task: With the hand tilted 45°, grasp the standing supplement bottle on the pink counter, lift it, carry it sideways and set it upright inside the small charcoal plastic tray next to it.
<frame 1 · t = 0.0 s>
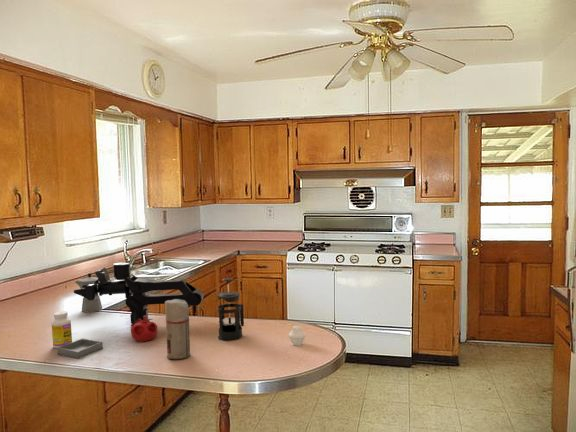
hand: (78, 288, 202), 17 cm above the worktop, tool horizontal, fingers open, 9 cm apart
red ball with holes: (144, 339, 185), on the worktop
supplement bottle: (63, 346, 180), on the worktop
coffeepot: (94, 309, 230), on the worktop
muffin: (297, 344, 173), on the worktop
tray: (80, 351, 173), on the worktop
spray can: (178, 356, 166), on the worktop
french press: (231, 337, 184), on the worktop
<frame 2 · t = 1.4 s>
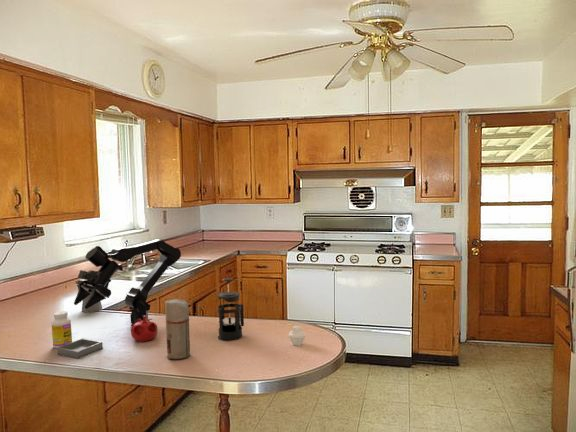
hand: (79, 306, 185), 14 cm above the worktop, tool tilted 45°, fingers open, 9 cm apart
nothing on the worktop moved.
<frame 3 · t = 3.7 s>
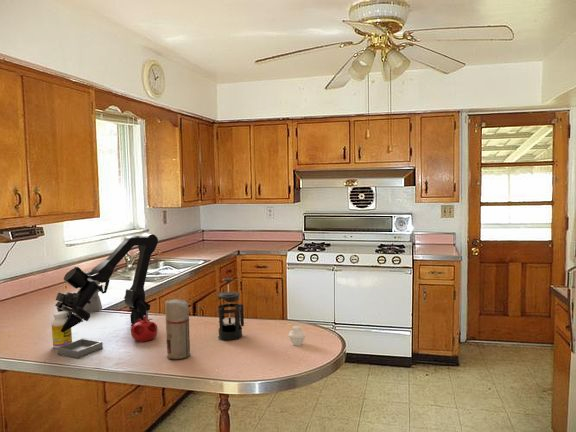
hand: (57, 329, 179), 7 cm above the worktop, tool tilted 45°, fingers closed on supplement bottle, 7 cm apart
supplement bottle: (63, 346, 180), on the worktop, touching gripper
everything else where it was.
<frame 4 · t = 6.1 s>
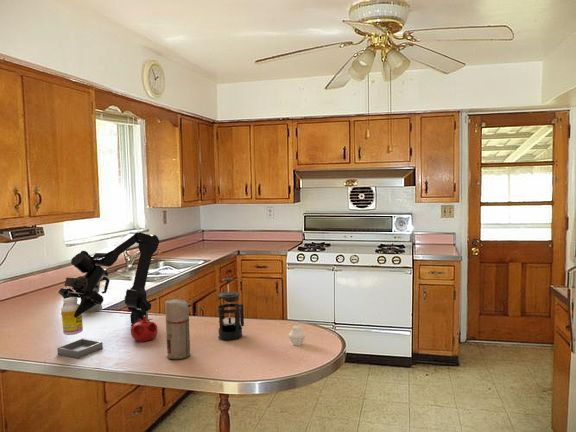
hand: (68, 316, 173), 13 cm above the worktop, tool tilted 45°, fingers closed on supplement bottle, 7 cm apart
supplement bottle: (73, 333, 175), point 6 cm above the worktop, touching gripper
everything else where it was.
when the fingers open (8 cm above the worktop, at t = 8.1 s): supplement bottle stays where it is, resting on tray.
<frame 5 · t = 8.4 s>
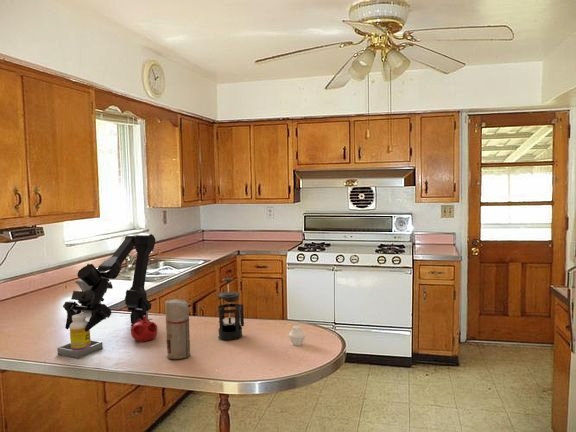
hand: (75, 329, 171), 9 cm above the worktop, tool tilted 45°, fingers open, 9 cm apart
supplement bottle: (81, 350, 174), resting on tray
everything else where it was.
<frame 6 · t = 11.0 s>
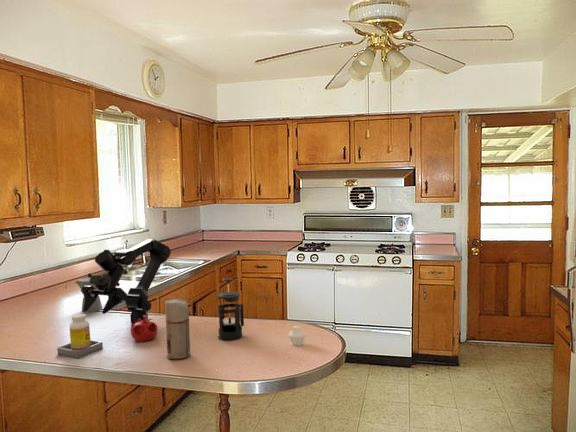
hand: (93, 312, 179), 12 cm above the worktop, tool tilted 45°, fingers open, 9 cm apart
nothing on the worktop moved.
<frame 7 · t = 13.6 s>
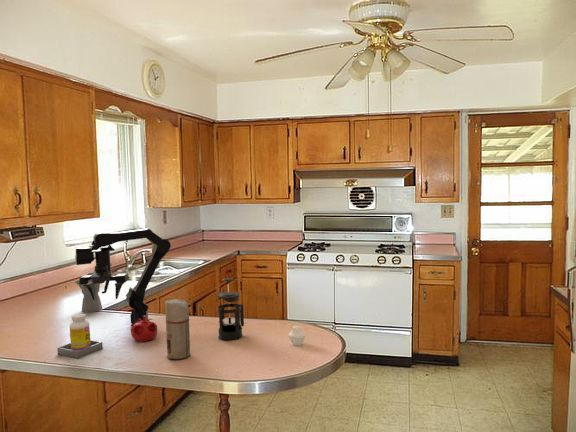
hand: (105, 299, 197), 13 cm above the worktop, tool pointing down, fingers open, 9 cm apart
nothing on the worktop moved.
at the end: supplement bottle 0.3 cm off-centre on the tray, point 0.4 cm above the tray's base; supplement bottle tilted 0°; the gripper is holding nothing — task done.
